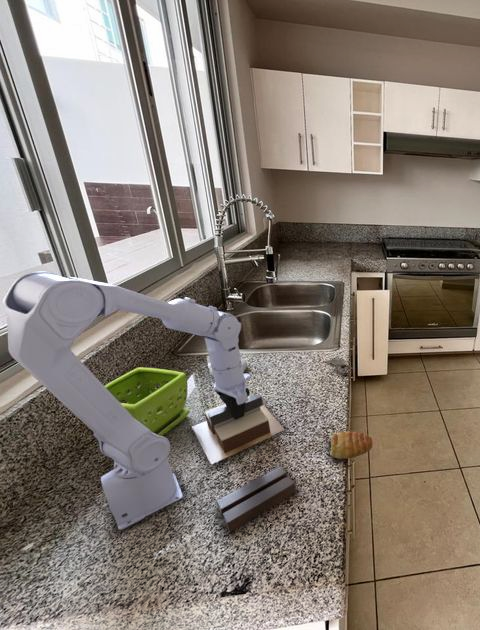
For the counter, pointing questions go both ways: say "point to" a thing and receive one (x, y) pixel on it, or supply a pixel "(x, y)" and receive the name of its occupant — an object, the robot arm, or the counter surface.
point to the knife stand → (255, 498)
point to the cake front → (242, 431)
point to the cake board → (217, 454)
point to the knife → (224, 414)
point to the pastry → (349, 444)
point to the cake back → (208, 416)
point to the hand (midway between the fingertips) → (237, 415)
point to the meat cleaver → (339, 365)
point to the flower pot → (153, 397)
